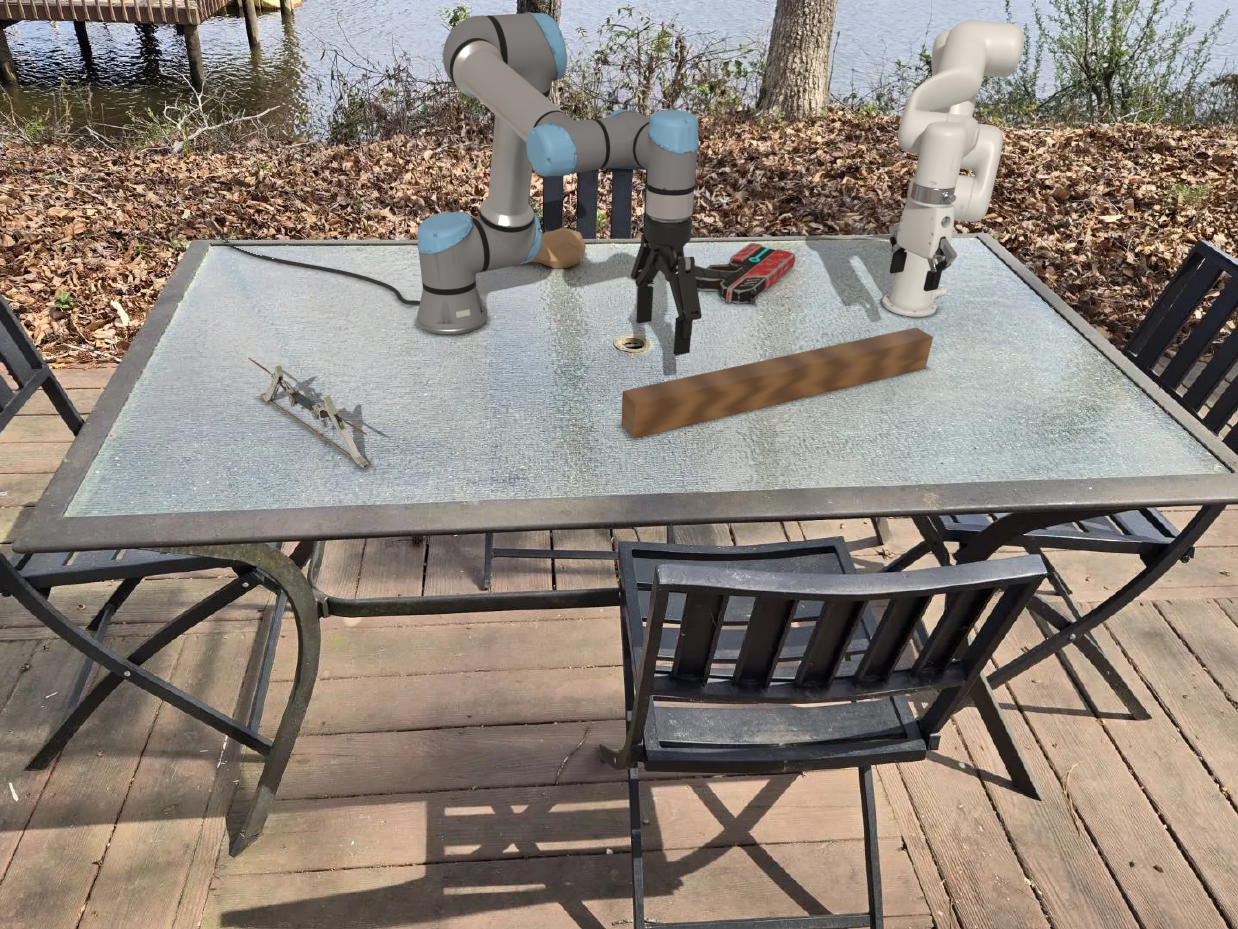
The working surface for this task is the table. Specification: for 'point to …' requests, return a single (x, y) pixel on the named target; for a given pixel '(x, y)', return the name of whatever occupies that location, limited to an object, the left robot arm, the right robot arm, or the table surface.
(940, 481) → the table surface
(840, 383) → the post
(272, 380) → the bow
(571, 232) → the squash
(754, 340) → the table surface
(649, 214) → the left robot arm
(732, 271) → the gun
